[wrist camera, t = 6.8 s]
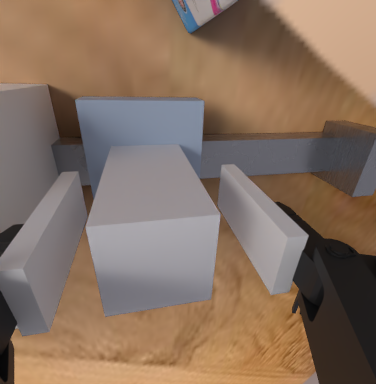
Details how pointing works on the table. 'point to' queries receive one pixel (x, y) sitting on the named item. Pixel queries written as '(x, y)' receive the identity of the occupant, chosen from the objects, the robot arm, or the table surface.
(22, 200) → the cabinet
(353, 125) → the rail
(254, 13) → the table surface
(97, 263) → the carriage
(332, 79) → the table surface
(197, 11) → the ink box
